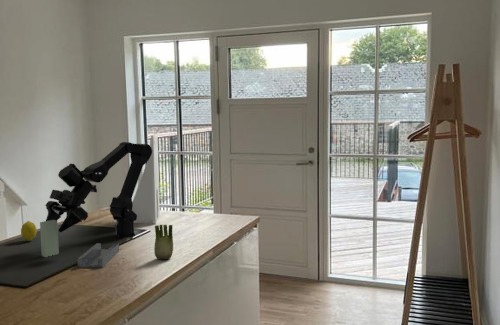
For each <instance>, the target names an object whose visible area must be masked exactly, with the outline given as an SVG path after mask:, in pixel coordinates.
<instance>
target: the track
mask: <svg viewBox="0 0 500 325" xmlns="http://www.w3.org/2000/svg"><path fill="white" fill-rule="evenodd" d="M119 246H120V244H119V243H118V242H114V243H113V244H112V245H111V246H110V247H109V248H108V249H102V243H99V242H98V243H95V244H94V245H93V246H91V247H90V248H89V249H88V250H87V251H85V252H84V253H82V254H81V255H79V257H78V258H77V268H78V269H86V268H87V269H91V268H93V269H94V268H95V269H97V268H99V269H100V268H101V269H102V268H104V267H105V266H107V264H108V263H109V262H110V261H111V260H112V259H114V257H115V256H116V255H117V254H118V253H119V252H120V247H119Z"/></svg>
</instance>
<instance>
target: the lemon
mask: <svg viewBox="0 0 500 325" xmlns="http://www.w3.org/2000/svg"><path fill="white" fill-rule="evenodd" d="M20 235H21V237H22V239H24V240H26V241H28V242H30V241H32V240H33V239H34V238H35V237H36V236H37V226H36V224H35V223H34V222H32V221H29V220H28V221H26V222H24V223H23V224H22V225H21V229H20Z"/></svg>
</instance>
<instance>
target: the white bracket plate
mask: <svg viewBox="0 0 500 325" xmlns="http://www.w3.org/2000/svg"><path fill="white" fill-rule="evenodd" d="M158 135H159V134H158V133H154V134H152V135H150V146H151V149H152V154H151V156H150V158H149V160H148V161H147V162H146V163H145V166H144V169H143V172H142V174H141V177H140V179H139V183H138V186H137V189H136V191H135V194H134V197H133V198H132V203H133V207H132V211H133V212H134V213H135V214H136V215H137V219H136V220H135V221H134V224H138V223H139V224H140V223H153V225H154V226H156V225H157V223H158V219H159V217H160V184H159V183H160V179H159V178H160V176H159V145H158V144H159V143H158V141H159V140H158V138H159V137H158Z"/></svg>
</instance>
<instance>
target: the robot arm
mask: <svg viewBox="0 0 500 325" xmlns="http://www.w3.org/2000/svg"><path fill="white" fill-rule="evenodd" d="M128 154H130V155H129V157H130V160H131V161H130V164H129V168H128V171H127V173H126V176H125V179H124V182H123V184H122V187H121V191H120V193H119V195H118V196H113V197H112V199H111V203H110V205H109V212H110V215H111V216H112V218H113V220H114V221H116V223H115V229H114V230H115V235H116V236H117V237H118V238H124V237H131V236H133V237H134V236H136V233H135V226H134V225H135V223H134V221H135V220H136V219H137V215H136V214H135V213H134V212H133V211H132V207H133V203H132V202H133V195H134V192H135V190H136V187H137V184H138V181H139V179H140V175H141V173H142V170H143V167H144V165H146V163H147V161H148V160H149V158H150V156H151V154H152V149H151V144H148V143H134V142H130V141H122V142H120V143H119V144H118V145H117V146H116V147H115V148H114V149H112V151H110V152H109V153H108V154H107V155H105V156H104V157H103V158H102V159H101V160H99V161H97V162H95V163H92V164H90V165H88V166H87V167H85V168H84V169H82V170H80V169H79V168H78V167H77V166H76V164H74V163H69V164H68V165H66V166H65V167H63V168H62V169H60V171H59V172H58V176H57V177H58V178H59V179H61V181H62V182H64V183H65V184H66V185H67V186H68V187H70V188H72V189H71V191H70V190H68V189H63V190H58V189H57V190H56V189H52V190H51V193H50V195H49V199H51V200H48V201H47V203H46V204H45V205H44V206H45V207H46V210H47V215H46V216H47V217H46V219H45V221H49V220H57V221H58V220H59V219H60V218H62V215H64V214H65V213H66V217H65V218H64V220H63V222H62V223H61V225H60V226H59V228H58V233H63V232H64V231H66V230H68V229H70V228H71V227H73V226H75V225H77V224H80V223H82V222H83V221H86V220H87V219H88V218H89V213H88V211H86V210H85V209H84V207H82V206H81V205H85V204H86V199H87V197H89V194H90V193H98V188H97V185H96V184H92V183H101V182H102V181H103V180H104V179H105V178H106V177H107V175H108V174H109V171H110V169H111V168H113V167H114V166H115V165H116V164H117V163H118V162H120V161H121V160H122V159H124V157H125V156H126V155H128Z"/></svg>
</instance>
